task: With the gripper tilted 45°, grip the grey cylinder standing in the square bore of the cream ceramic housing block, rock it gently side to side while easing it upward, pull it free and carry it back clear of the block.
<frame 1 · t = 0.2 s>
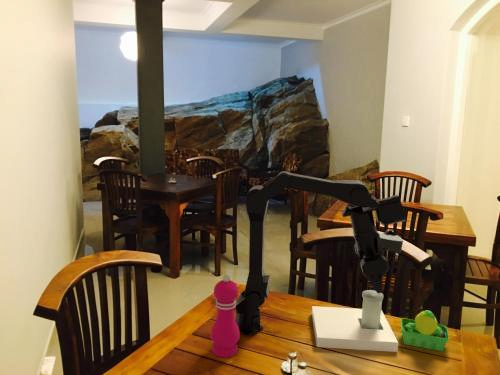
hand: (376, 285, 112), 15 cm above the table, tool tilted 15°, fingers open, 9 cm apart
grey cylinder: (369, 332, 117), point 1 cm above the table, touching housing
pepper mill: (224, 351, 107), on the table
fruit basket: (422, 347, 112), on the table
housing: (369, 335, 117), on the table
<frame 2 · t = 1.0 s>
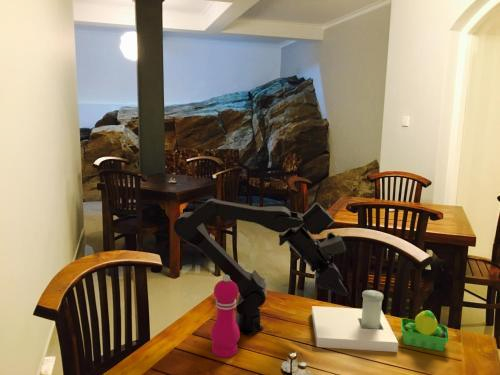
hand: (344, 287, 115), 13 cm above the table, tool tilted 45°, fingers open, 9 cm apart
nothing on the table moved.
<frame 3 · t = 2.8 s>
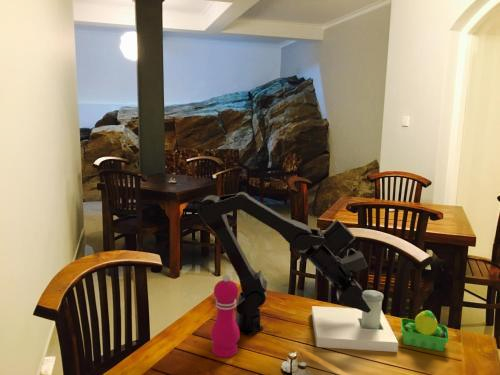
hand: (365, 303, 115), 9 cm above the table, tool tilted 45°, fingers open, 9 cm apart
nothing on the table moved.
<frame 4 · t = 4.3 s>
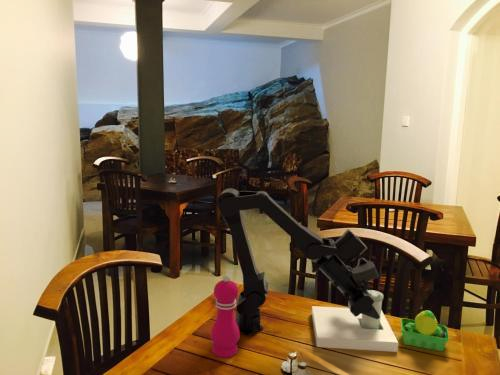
hand: (376, 313, 115), 7 cm above the table, tool tilted 45°, fingers closed on grey cylinder, 5 cm apart
grey cylinder: (369, 332, 117), point 1 cm above the table, touching gripper, housing
everything else where it was.
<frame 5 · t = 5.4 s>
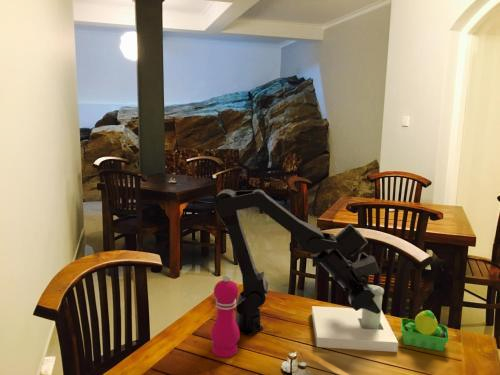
hand: (376, 308, 115), 8 cm above the table, tool tilted 45°, fingers closed on grey cylinder, 5 cm apart
grey cylinder: (370, 327, 116), point 3 cm above the table, touching gripper
everything else where it was.
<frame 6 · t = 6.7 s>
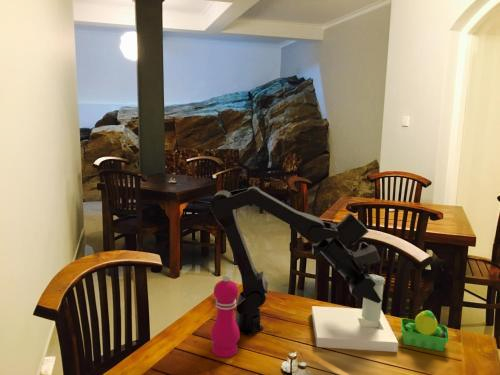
hand: (377, 297, 115), 11 cm above the table, tool tilted 45°, fingers closed on grey cylinder, 5 cm apart
grey cylinder: (370, 317, 116), point 5 cm above the table, touching gripper
everything else where it was.
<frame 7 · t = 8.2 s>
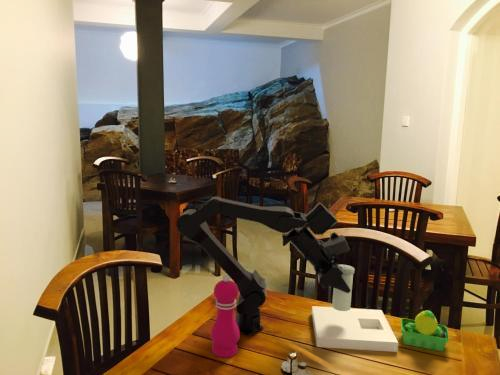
hand: (347, 287, 115), 13 cm above the table, tool tilted 45°, fingers closed on grey cylinder, 5 cm apart
grey cylinder: (341, 307, 116), point 8 cm above the table, touching gripper
everything else where it was.
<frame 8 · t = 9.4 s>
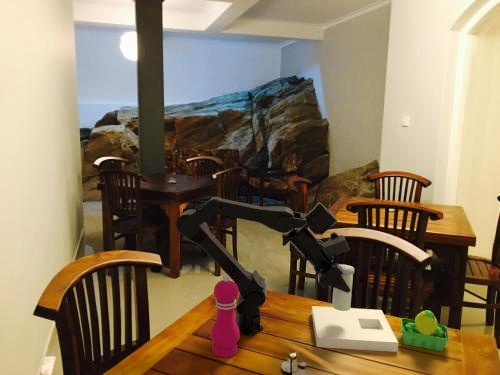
hand: (347, 287, 115), 13 cm above the table, tool tilted 45°, fingers closed on grey cylinder, 5 cm apart
grey cylinder: (341, 306, 116), point 8 cm above the table, touching gripper
everything else where it was.
at the end: grey cylinder point 7.9 cm above the table; grey cylinder touching gripper; the gripper is holding grey cylinder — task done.
